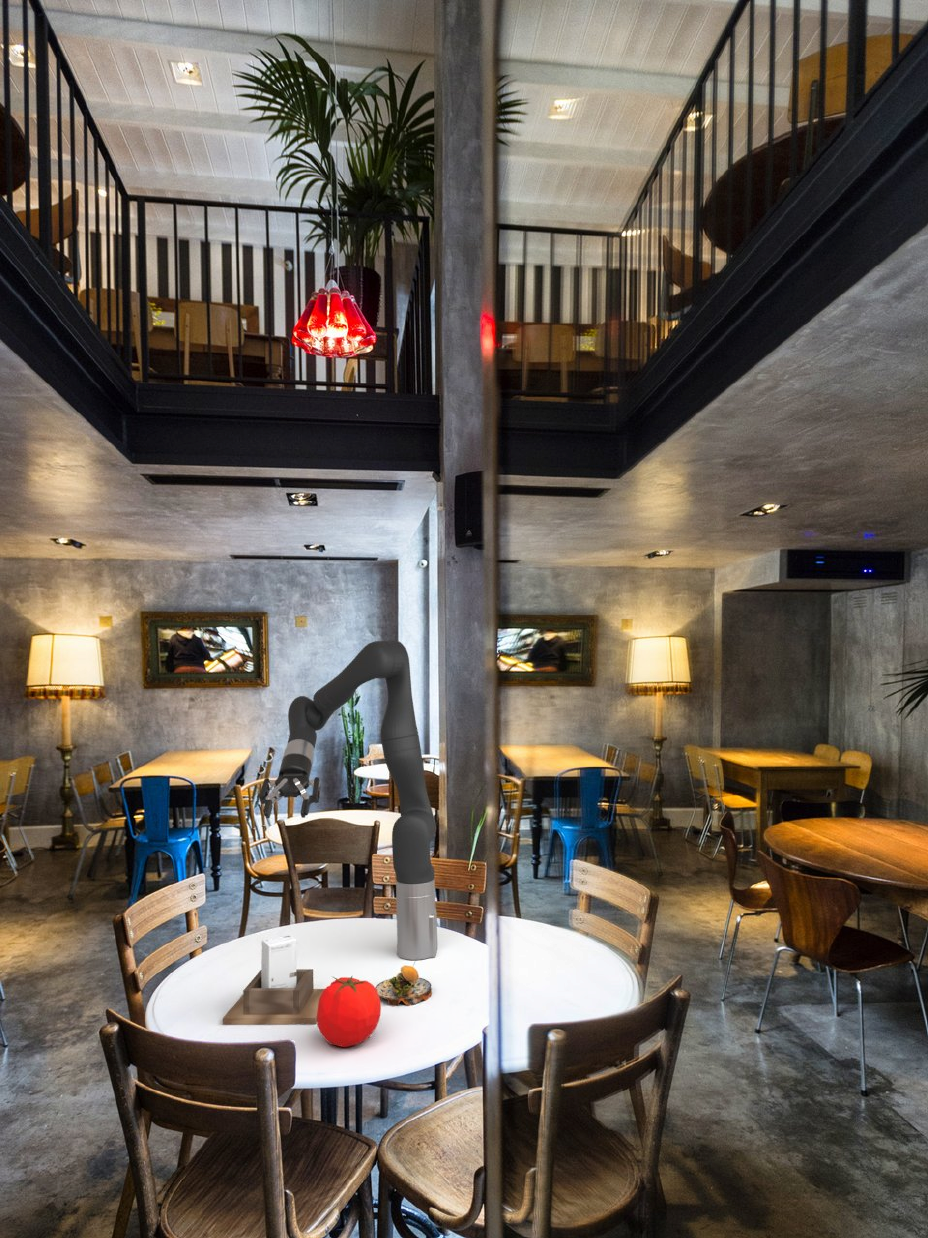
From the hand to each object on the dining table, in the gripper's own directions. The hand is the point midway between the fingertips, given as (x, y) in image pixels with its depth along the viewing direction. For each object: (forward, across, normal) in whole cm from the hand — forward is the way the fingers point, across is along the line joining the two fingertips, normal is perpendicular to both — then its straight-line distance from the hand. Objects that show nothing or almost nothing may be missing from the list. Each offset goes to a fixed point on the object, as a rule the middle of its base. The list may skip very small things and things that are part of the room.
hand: (284, 816), depth 184 cm
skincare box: (+41, +6, +5) cm, 42 cm away
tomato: (+52, +23, -4) cm, 57 cm away
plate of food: (+37, +30, +11) cm, 49 cm away
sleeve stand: (+42, +6, +6) cm, 43 cm away
